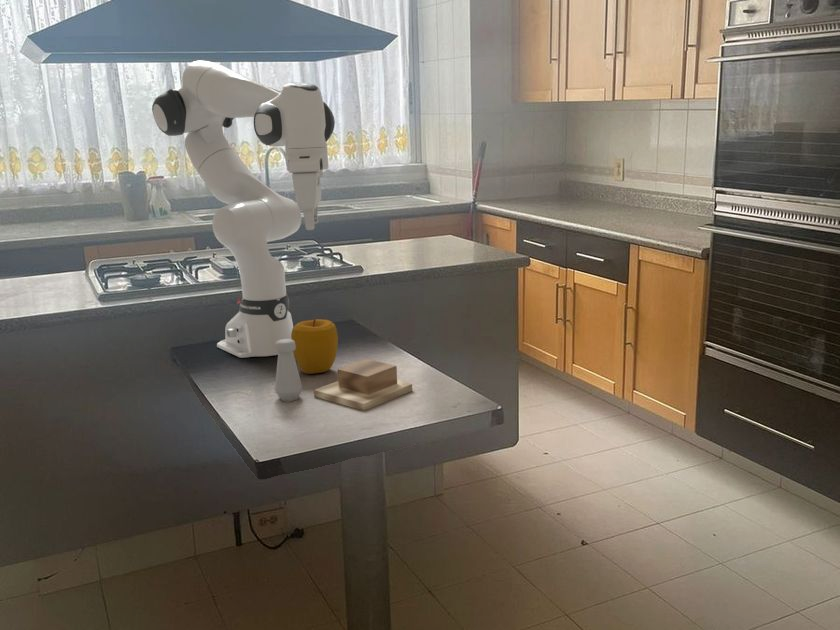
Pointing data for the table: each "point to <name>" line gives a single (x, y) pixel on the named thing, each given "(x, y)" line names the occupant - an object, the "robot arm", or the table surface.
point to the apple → (315, 345)
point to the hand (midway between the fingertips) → (312, 226)
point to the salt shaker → (287, 371)
